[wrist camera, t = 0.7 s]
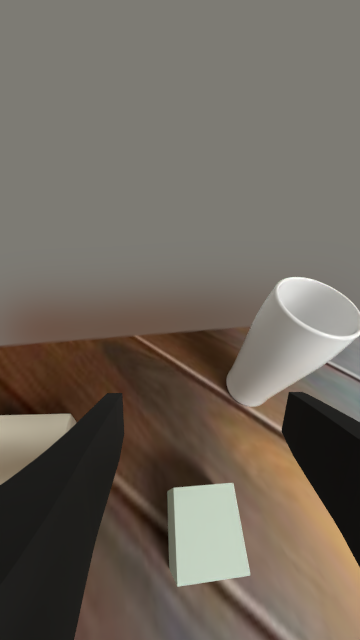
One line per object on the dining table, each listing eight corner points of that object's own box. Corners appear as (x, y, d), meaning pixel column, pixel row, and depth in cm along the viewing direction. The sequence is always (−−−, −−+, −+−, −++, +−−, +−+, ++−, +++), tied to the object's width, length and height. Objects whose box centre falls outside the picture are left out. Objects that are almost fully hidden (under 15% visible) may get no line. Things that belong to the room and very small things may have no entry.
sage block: (226, 560, 17) (250, 575, 13) (169, 568, 16) (177, 586, 13) (215, 487, 20) (233, 482, 16) (167, 491, 19) (173, 487, 16)
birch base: (48, 548, 16) (34, 555, 14) (-90, 564, 15) (-131, 574, 13) (77, 423, 22) (70, 413, 20) (-21, 426, 21) (-40, 416, 19)
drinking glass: (232, 421, 24) (312, 347, 13) (211, 368, 28) (258, 277, 17) (281, 407, 26) (388, 332, 15) (255, 359, 30) (322, 273, 19)
